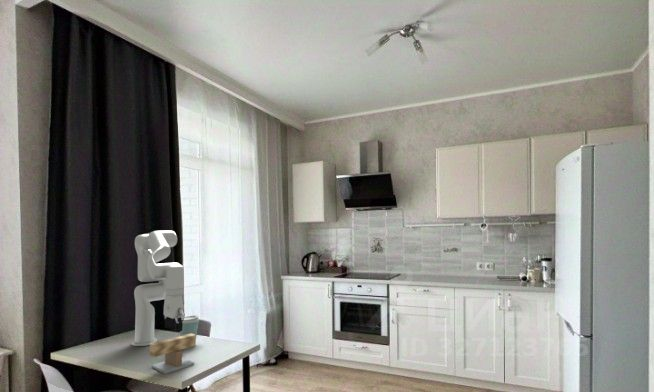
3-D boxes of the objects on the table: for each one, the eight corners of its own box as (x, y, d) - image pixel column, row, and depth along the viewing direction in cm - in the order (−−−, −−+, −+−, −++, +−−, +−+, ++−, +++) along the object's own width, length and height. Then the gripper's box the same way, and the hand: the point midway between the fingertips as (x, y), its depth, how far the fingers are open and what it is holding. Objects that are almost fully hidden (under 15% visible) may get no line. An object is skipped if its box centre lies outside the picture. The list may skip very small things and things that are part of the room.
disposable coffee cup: (177, 349, 197) (178, 320, 198) (177, 343, 207) (178, 315, 208) (199, 347, 201) (199, 318, 202) (198, 341, 211) (198, 313, 212)
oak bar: (153, 357, 167) (154, 345, 167) (149, 355, 169) (149, 343, 170) (195, 345, 182) (195, 334, 182) (191, 343, 184) (191, 333, 185)
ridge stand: (151, 367, 174) (152, 351, 174) (180, 358, 184) (181, 343, 185) (164, 373, 166) (165, 357, 166) (194, 364, 176) (194, 349, 177)
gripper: (157, 290, 180) (156, 327, 179) (176, 295, 169) (175, 335, 168) (172, 288, 186) (171, 323, 185) (191, 293, 175) (190, 331, 174)
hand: (173, 329), depth 177 cm, fingers open, 9 cm apart
